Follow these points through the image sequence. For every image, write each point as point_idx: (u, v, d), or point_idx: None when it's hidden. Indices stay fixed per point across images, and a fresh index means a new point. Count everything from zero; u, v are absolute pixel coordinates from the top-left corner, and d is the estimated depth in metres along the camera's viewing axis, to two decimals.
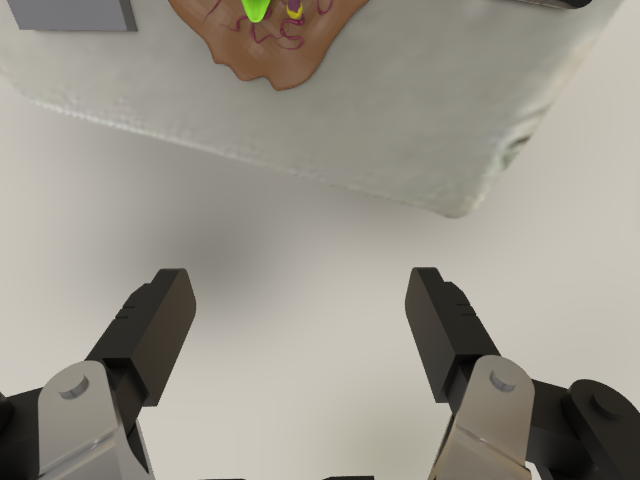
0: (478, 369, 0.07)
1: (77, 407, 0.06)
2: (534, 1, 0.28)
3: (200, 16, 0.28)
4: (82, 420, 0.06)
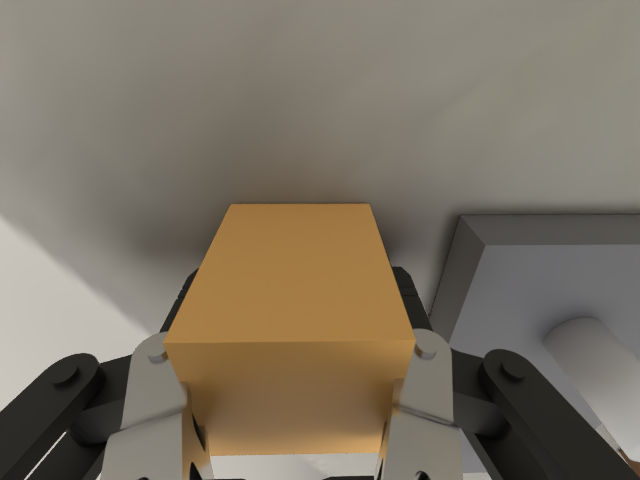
0: None
1: (158, 373, 0.07)
2: None
3: None
4: (174, 381, 0.07)
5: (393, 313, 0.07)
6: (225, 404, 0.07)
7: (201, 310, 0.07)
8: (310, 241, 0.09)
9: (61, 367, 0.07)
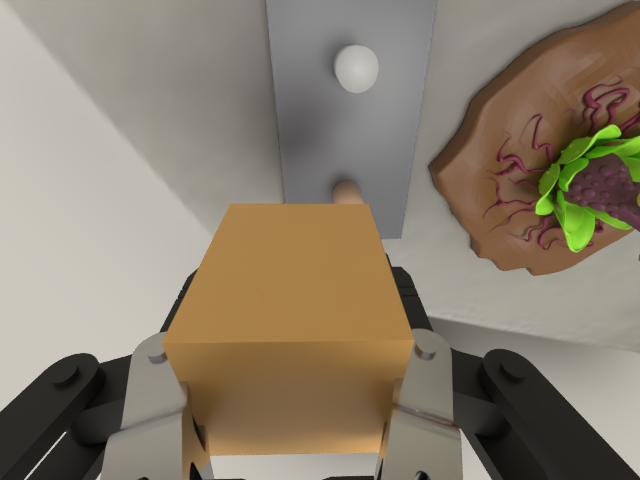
0: None
1: (158, 373, 0.07)
2: None
3: (488, 228, 0.26)
4: (174, 381, 0.07)
5: (392, 313, 0.07)
6: (224, 404, 0.07)
7: (200, 310, 0.07)
8: (309, 241, 0.09)
9: (61, 367, 0.07)
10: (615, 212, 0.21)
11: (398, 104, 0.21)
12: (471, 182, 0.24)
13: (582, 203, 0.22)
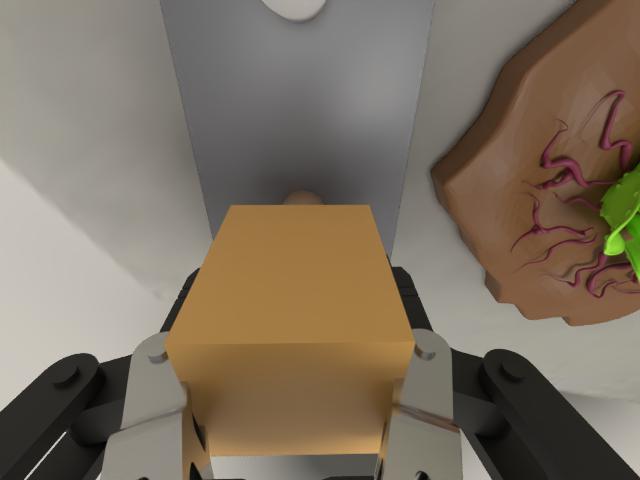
0: None
1: (158, 373, 0.07)
2: None
3: (516, 265, 0.18)
4: (174, 381, 0.07)
5: (393, 315, 0.07)
6: (225, 405, 0.07)
7: (202, 312, 0.07)
8: (310, 242, 0.09)
9: (61, 367, 0.07)
10: None
11: (384, 65, 0.12)
12: (497, 198, 0.15)
13: None
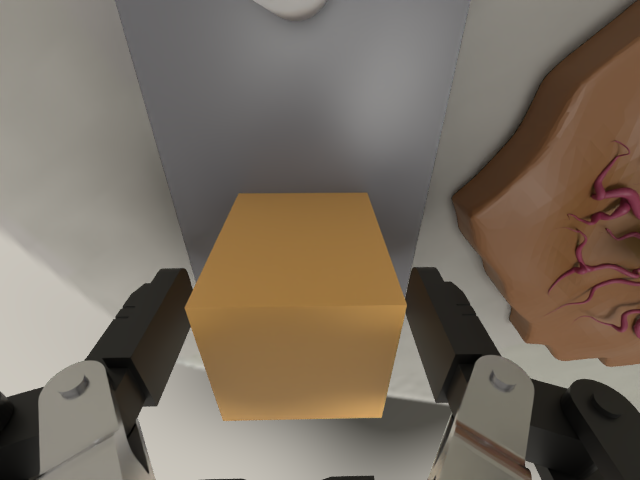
0: (478, 369, 0.07)
1: (77, 406, 0.06)
2: None
3: (552, 306, 0.15)
4: (82, 420, 0.06)
5: (387, 284, 0.07)
6: (237, 368, 0.08)
7: (216, 282, 0.08)
8: (313, 225, 0.10)
9: None
10: None
11: (403, 75, 0.10)
12: (536, 234, 0.13)
13: None
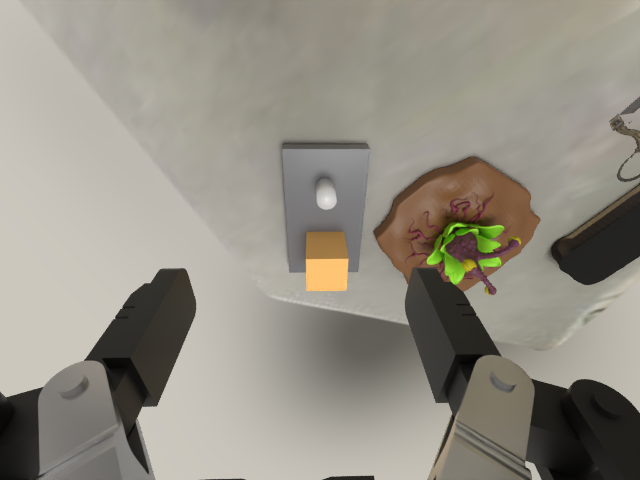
0: (478, 369, 0.07)
1: (77, 407, 0.06)
2: None
3: (409, 268, 0.44)
4: (82, 420, 0.06)
5: (345, 255, 0.36)
6: (313, 274, 0.37)
7: (310, 254, 0.36)
8: (329, 241, 0.39)
9: None
10: None
11: (351, 204, 0.38)
12: (395, 243, 0.41)
13: (454, 258, 0.40)
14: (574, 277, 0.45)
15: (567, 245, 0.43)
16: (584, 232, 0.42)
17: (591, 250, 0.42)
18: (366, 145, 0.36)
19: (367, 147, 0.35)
